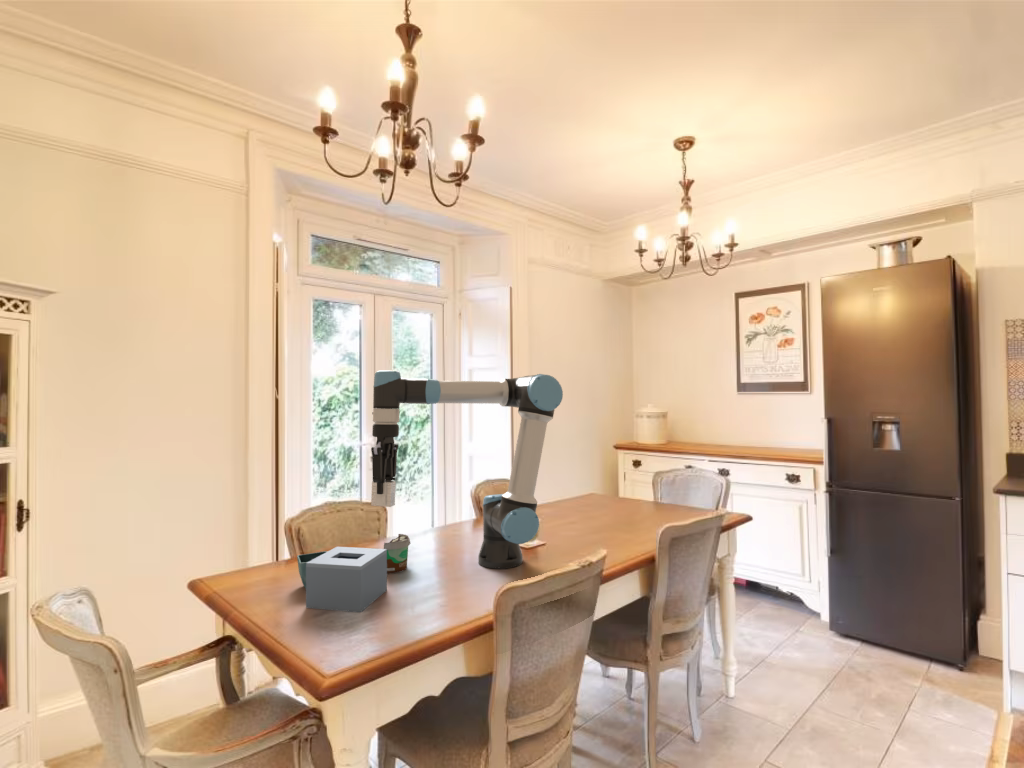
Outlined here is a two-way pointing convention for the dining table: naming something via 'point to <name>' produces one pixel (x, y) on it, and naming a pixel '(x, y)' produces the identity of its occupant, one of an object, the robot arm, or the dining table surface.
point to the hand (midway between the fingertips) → (383, 503)
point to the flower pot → (302, 564)
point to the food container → (397, 553)
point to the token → (389, 494)
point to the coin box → (346, 578)
